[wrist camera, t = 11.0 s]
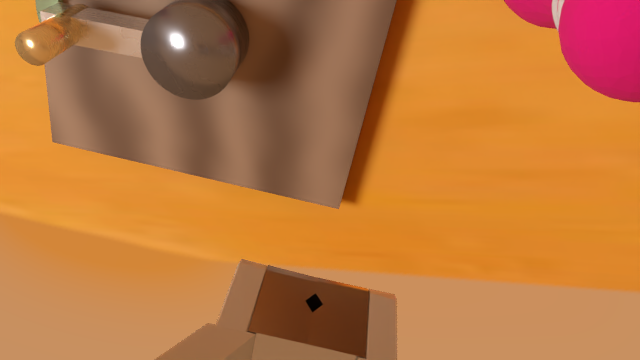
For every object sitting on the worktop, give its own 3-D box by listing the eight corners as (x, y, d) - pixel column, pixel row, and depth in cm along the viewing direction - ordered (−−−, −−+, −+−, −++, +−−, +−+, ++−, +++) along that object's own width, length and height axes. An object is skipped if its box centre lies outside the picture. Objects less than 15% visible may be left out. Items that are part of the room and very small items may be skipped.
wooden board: (428, -123, 31) (430, -120, 29) (340, 198, 44) (338, 213, 43) (30, -218, 31) (8, -222, 29) (62, 133, 44) (48, 145, 42)
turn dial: (252, -1, 34) (222, 34, 28) (245, 83, 38) (217, 130, 32) (66, -36, 35) (-3, -10, 28) (76, 51, 38) (15, 91, 32)
